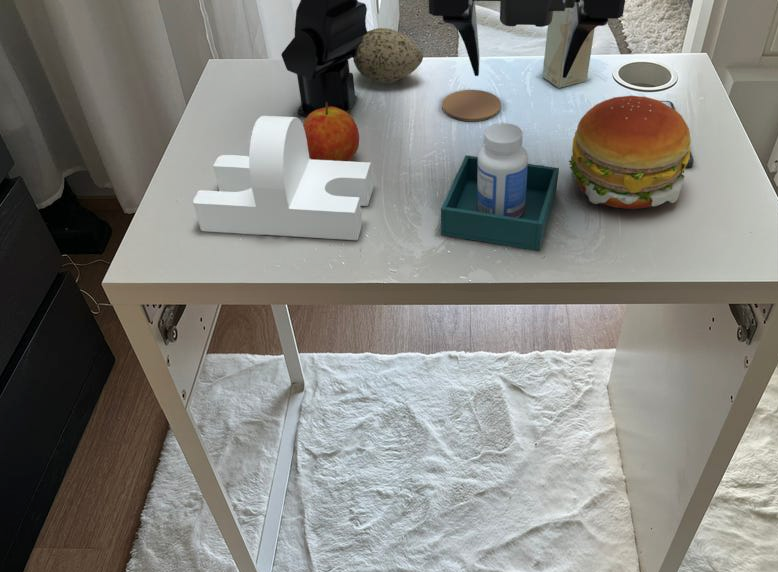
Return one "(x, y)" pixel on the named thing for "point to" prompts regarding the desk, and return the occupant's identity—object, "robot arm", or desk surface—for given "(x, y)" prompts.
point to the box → (556, 50)
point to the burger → (631, 152)
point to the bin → (498, 229)
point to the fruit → (331, 134)
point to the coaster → (471, 105)
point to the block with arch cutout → (285, 188)
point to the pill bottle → (502, 171)
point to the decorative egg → (387, 56)
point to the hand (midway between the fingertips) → (520, 75)
